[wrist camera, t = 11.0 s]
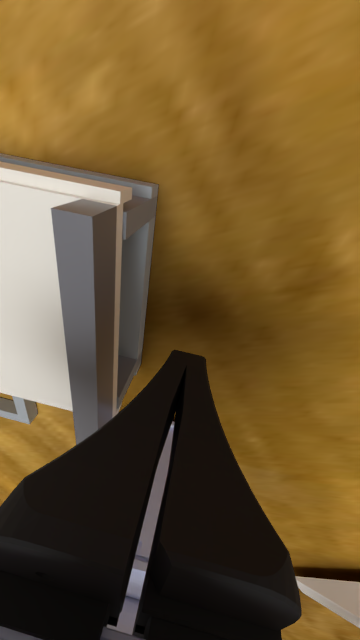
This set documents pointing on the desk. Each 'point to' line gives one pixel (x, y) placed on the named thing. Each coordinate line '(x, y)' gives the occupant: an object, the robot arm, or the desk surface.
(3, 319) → the cover
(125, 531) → the robot arm
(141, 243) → the gray square frame
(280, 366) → the desk surface
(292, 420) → the desk surface
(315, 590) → the desk lamp
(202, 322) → the desk surface
